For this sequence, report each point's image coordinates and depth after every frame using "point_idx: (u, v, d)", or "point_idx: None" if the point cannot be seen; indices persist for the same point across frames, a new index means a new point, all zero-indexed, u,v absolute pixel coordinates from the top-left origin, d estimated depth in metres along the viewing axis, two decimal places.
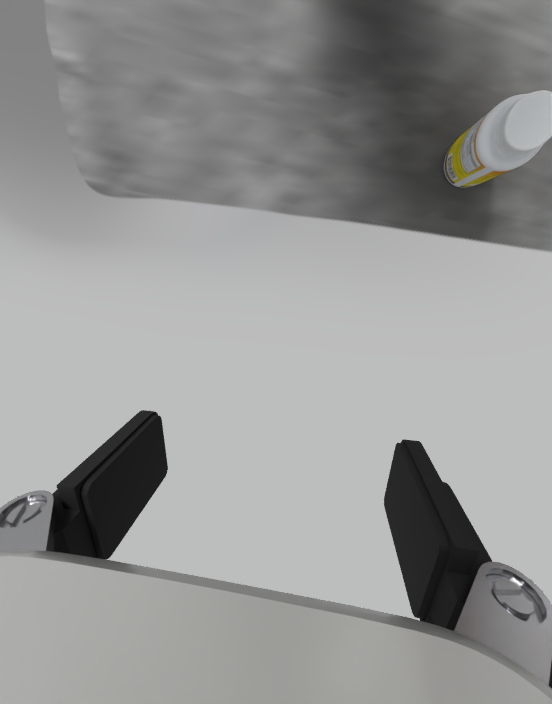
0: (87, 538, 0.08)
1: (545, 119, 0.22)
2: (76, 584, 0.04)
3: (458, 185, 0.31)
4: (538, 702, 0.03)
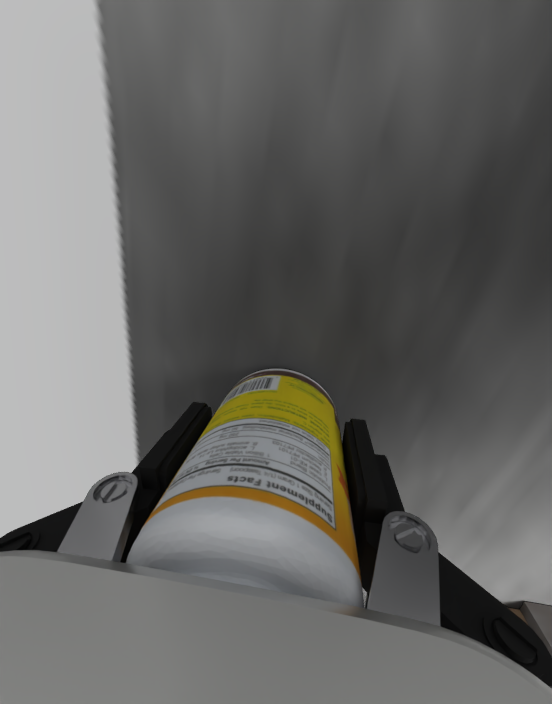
0: None
1: None
2: (76, 584, 0.04)
3: None
4: (538, 702, 0.03)
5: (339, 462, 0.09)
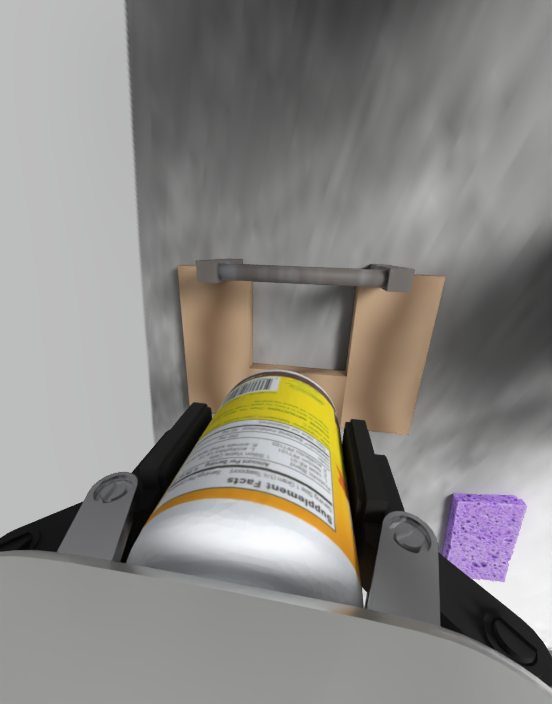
0: None
1: None
2: (76, 584, 0.04)
3: None
4: (538, 702, 0.03)
5: (339, 463, 0.09)
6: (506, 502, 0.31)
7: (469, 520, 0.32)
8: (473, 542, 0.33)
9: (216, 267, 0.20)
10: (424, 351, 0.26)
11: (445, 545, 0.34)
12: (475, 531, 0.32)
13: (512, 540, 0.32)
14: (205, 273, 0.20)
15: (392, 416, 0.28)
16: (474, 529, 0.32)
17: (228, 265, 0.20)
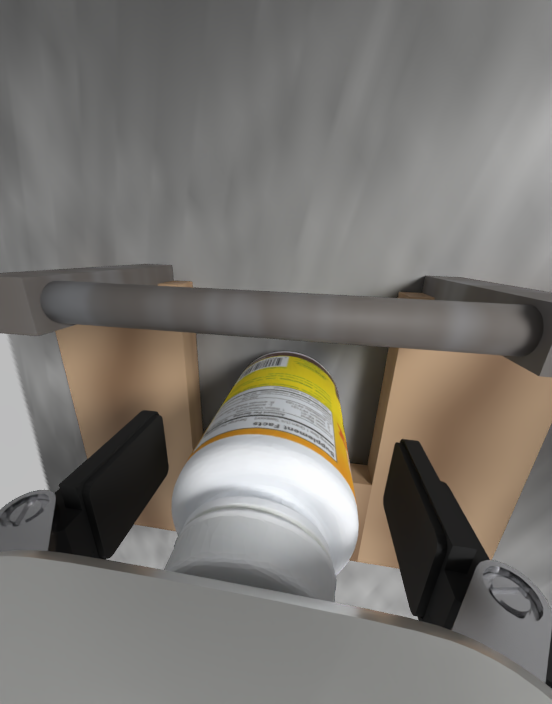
0: (90, 537, 0.08)
1: None
2: (76, 584, 0.04)
3: None
4: (538, 702, 0.03)
5: (339, 423, 0.10)
6: None
7: None
8: None
9: (33, 292, 0.07)
10: (531, 451, 0.13)
11: None
12: None
13: None
14: (3, 310, 0.07)
15: None
16: None
17: (71, 287, 0.07)
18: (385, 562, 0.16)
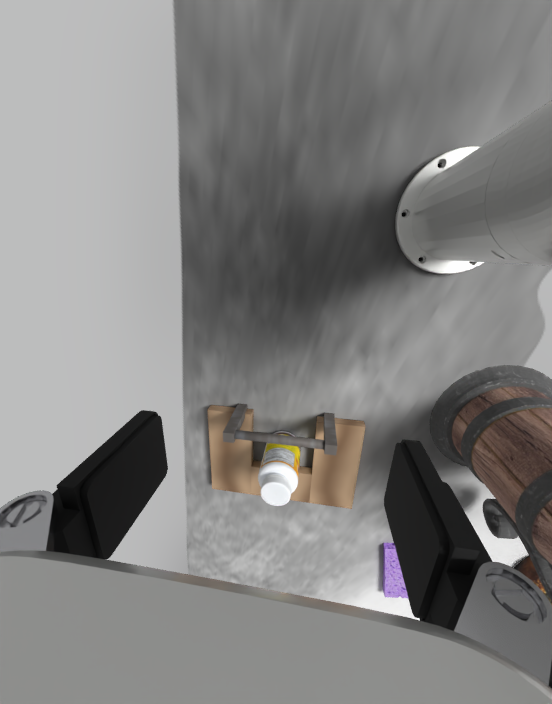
0: (87, 538, 0.08)
1: (276, 499, 0.36)
2: (76, 584, 0.04)
3: None
4: (538, 702, 0.03)
5: (296, 457, 0.40)
6: None
7: (394, 560, 0.49)
8: (399, 574, 0.49)
9: (234, 435, 0.37)
10: (357, 463, 0.42)
11: (383, 575, 0.51)
12: (399, 567, 0.49)
13: None
14: (227, 438, 0.37)
15: (341, 497, 0.45)
16: (398, 566, 0.49)
17: (240, 433, 0.37)
18: (318, 502, 0.46)
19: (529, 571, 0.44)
